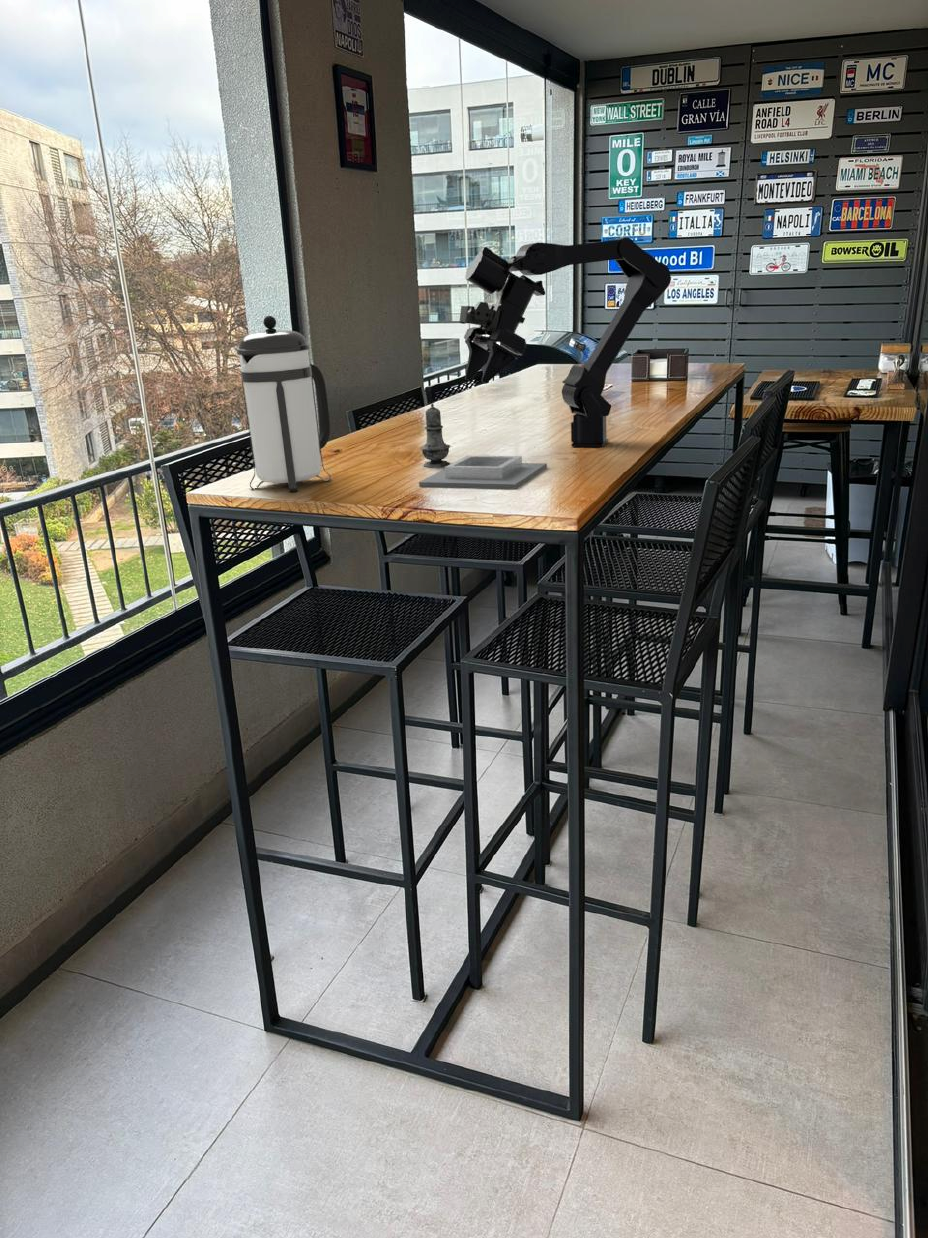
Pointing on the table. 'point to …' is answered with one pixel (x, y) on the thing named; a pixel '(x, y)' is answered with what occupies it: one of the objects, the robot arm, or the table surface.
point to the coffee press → (283, 406)
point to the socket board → (507, 483)
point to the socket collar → (483, 467)
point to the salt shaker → (434, 440)
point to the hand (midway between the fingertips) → (475, 380)
